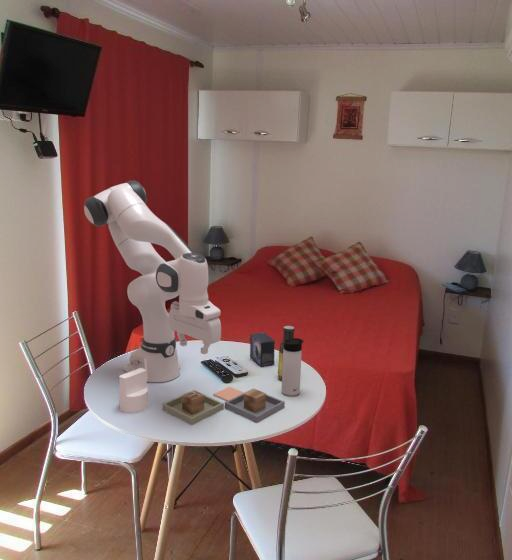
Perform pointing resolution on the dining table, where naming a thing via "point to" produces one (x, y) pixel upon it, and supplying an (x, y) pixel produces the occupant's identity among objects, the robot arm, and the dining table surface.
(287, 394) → the travel mug
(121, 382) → the cylinder with rectangular tab
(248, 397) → the plain block
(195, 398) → the letter cube
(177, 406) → the tray olive
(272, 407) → the tray charcoal
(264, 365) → the small box
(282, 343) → the sauce bottle
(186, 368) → the dining table surface
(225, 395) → the terracotta tile
